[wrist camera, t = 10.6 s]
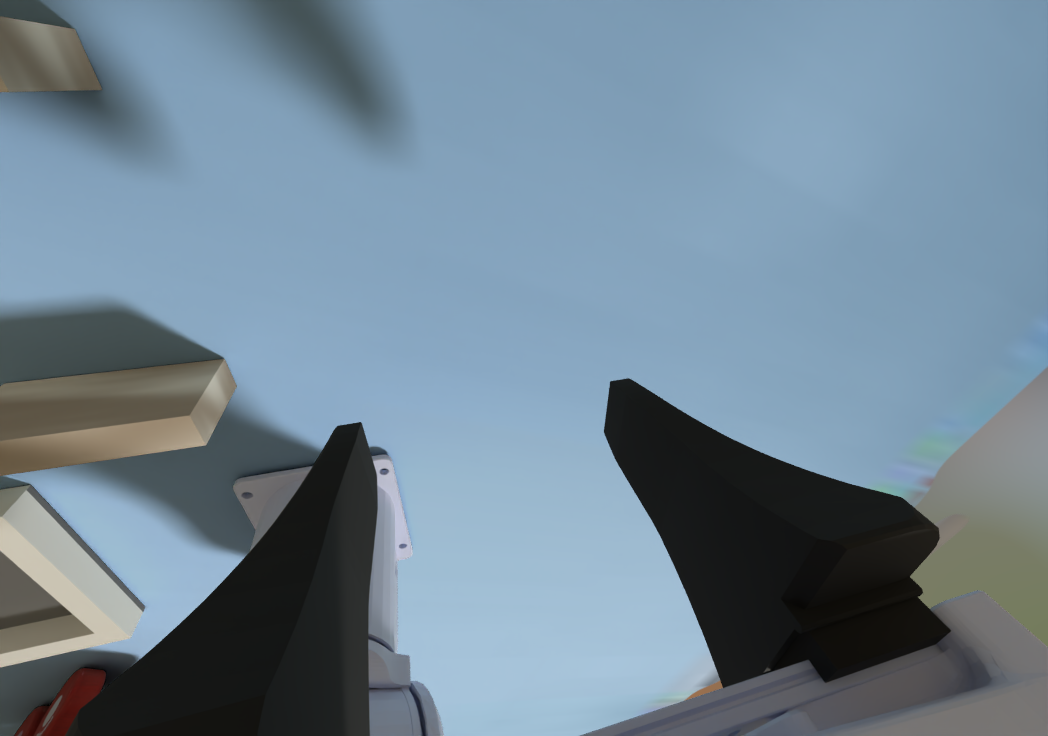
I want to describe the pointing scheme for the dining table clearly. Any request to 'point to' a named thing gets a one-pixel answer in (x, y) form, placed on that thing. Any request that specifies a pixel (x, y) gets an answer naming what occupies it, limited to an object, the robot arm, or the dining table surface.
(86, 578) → the trap basin
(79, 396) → the channel walls
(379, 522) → the robot arm
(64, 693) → the toy fire truck
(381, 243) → the dining table surface
